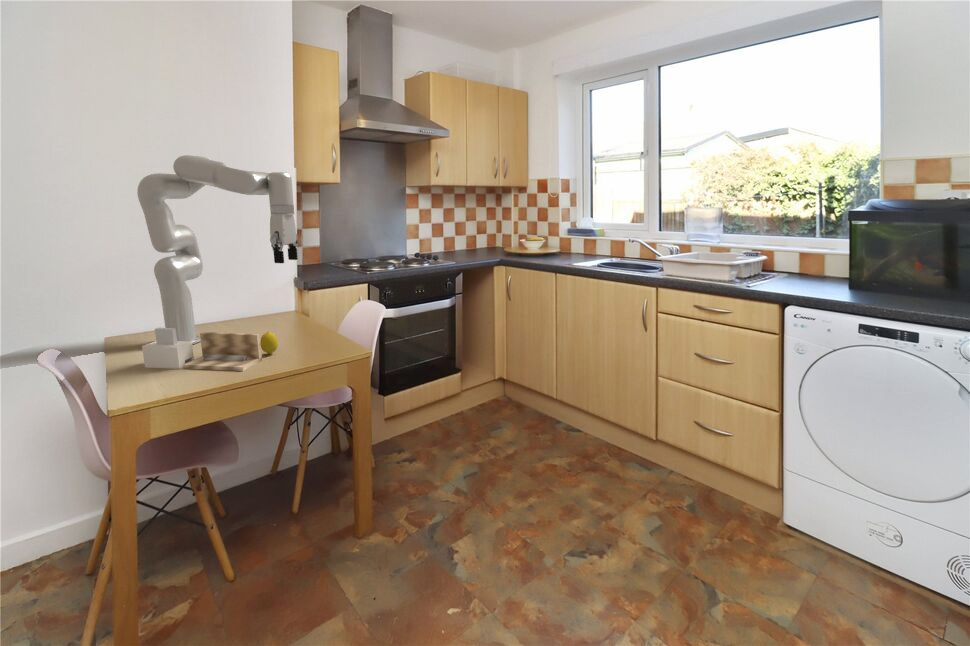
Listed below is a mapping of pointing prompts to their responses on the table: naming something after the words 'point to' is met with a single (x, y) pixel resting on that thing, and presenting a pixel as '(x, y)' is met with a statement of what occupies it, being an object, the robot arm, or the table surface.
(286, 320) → the table surface
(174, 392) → the table surface
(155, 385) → the table surface
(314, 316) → the table surface
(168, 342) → the white stepped block
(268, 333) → the lemon
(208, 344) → the cleat board
